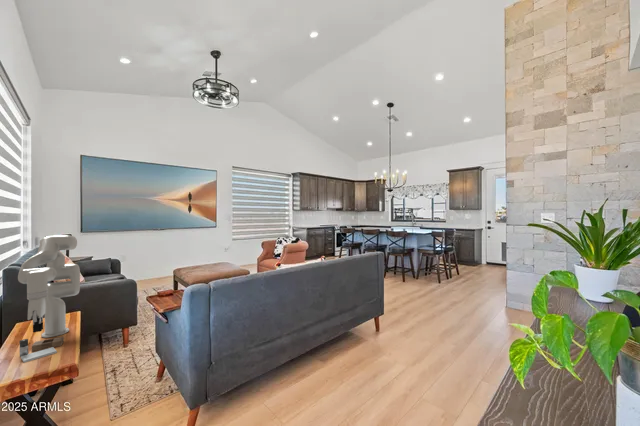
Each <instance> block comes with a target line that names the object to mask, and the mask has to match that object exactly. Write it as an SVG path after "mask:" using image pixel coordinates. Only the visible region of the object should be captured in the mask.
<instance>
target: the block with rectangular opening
mask: <svg viewBox="0 0 640 426" xmlns="http://www.w3.org/2000/svg"><path fill="white" fill-rule="evenodd" d="M64 338H65V337H64V336H60V337H59V336H57V337H52V338H48V339H42V340H36V341H34V342H33V344H32V345H31V352H37V351H41V350H45V349H48V348H52V347H54V348H55V347H62V345H63V343H64V340H65V339H64Z"/></svg>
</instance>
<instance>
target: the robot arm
mask: <svg viewBox="0 0 640 426" xmlns="http://www.w3.org/2000/svg"><path fill="white" fill-rule="evenodd" d="M77 246H78V239H77V238H76V236H74V235H69V234H68V235H67V234H66V235H65V234H63V235H48V236H44V237H43V238H42V239H40V240H39V247H38V249H37V253H36V254H34V255H32V256H30V257H29V258H28V259H26V260H25V261H24V262H23V263H22V264H21V266H20V268H19V270H18V271H19V272H18V273H17V274H18V275H17V280H18V282H19V283H20V284H23V285H26V299H27V300H28V303H27V304H28V305H27V320H28V321H31V319H32V333H40V332H42V331H43V330H44V332H42V333H41V338H55V337H59V336H62V335H65V334H66V333H68V332H69V331H70V328H68V327H67V326H66V324H67V323H66V303H65V301H64V300H63V299H62V298H67V297H73V296H77V295H79V293H80V290H81V269H80V268H81V267H80V266H79V264H77V263H66V256H65V254H63V253H62V252H61V251H70V250H75V249H76V248H77ZM44 265H46V267H39V266H44ZM61 280H65V281H61ZM66 280H67V281H66ZM51 281H55V282H51ZM48 282H50V283H48Z"/></svg>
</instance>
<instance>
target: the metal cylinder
mask: <svg viewBox="0 0 640 426" xmlns="http://www.w3.org/2000/svg"><path fill="white" fill-rule="evenodd" d="M27 354H29V339H28V338H24V339H21V340H19V357H20V358H21V356H24V355H27Z"/></svg>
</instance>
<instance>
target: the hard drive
mask: <svg viewBox="0 0 640 426" xmlns="http://www.w3.org/2000/svg"><path fill="white" fill-rule="evenodd" d="M56 353H58V351H57V350H56V349H55V347H52V348H47V349H41V350H37V351H33V352H31V353H28V354H27V355H24V356H21V357H20V359H21V361H22V362H23V363H27V362H31V361H33V360H38V359H41V358H43V357H48V356H52V355H54V354H56Z"/></svg>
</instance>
